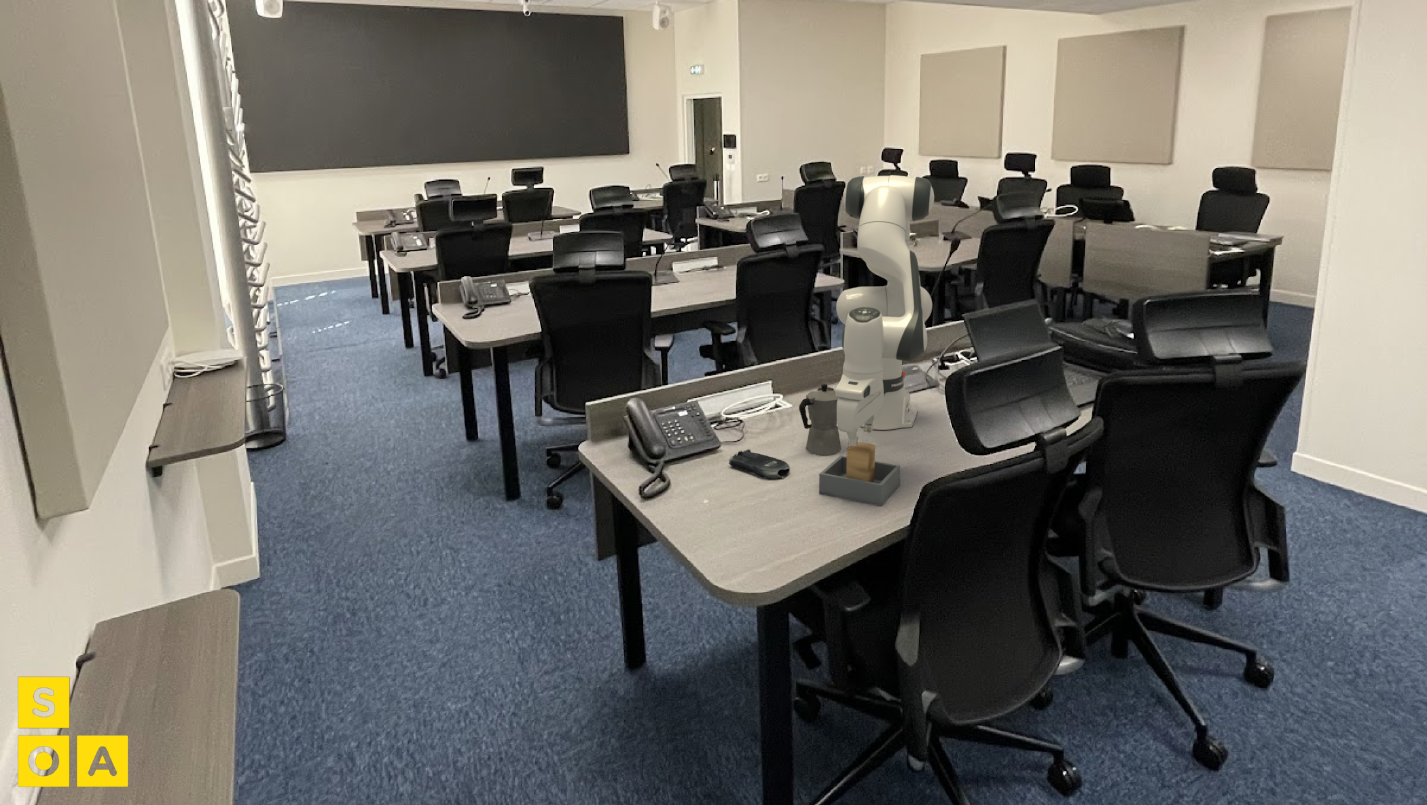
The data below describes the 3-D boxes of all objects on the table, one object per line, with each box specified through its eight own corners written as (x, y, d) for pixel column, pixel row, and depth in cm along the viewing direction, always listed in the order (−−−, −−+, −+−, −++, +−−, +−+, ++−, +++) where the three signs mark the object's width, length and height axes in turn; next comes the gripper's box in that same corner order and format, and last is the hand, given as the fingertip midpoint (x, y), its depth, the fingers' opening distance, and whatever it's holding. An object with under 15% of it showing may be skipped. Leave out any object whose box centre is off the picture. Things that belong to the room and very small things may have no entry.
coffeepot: (827, 439, 236) (828, 375, 231) (853, 448, 229) (855, 382, 224) (786, 453, 227) (786, 387, 221) (812, 463, 220) (813, 395, 214)
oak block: (853, 480, 207) (855, 441, 204) (874, 484, 204) (875, 444, 201) (846, 488, 203) (847, 448, 200) (866, 492, 200) (867, 451, 197)
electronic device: (727, 475, 218) (774, 482, 208) (726, 453, 218) (773, 459, 208) (750, 469, 225) (797, 475, 215) (749, 447, 224) (796, 453, 215)
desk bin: (840, 474, 213) (840, 455, 211) (899, 485, 205) (900, 465, 204) (819, 493, 202) (819, 473, 200) (880, 506, 195) (881, 485, 193)
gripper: (865, 367, 206) (864, 421, 210) (832, 391, 189) (830, 450, 193) (891, 370, 203) (889, 425, 207) (859, 395, 186) (857, 455, 190)
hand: (860, 438), depth 200 cm, fingers open, 8 cm apart
